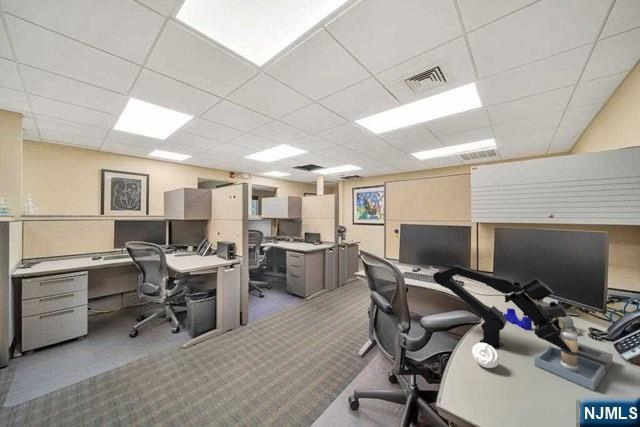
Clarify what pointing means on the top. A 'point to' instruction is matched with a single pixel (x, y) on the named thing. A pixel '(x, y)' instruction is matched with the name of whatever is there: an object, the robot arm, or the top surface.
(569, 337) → the fuse
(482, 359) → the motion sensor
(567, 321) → the ceramic mug
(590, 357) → the fuse holder
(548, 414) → the top surface
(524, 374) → the top surface
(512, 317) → the blue angular block
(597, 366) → the parts tray
